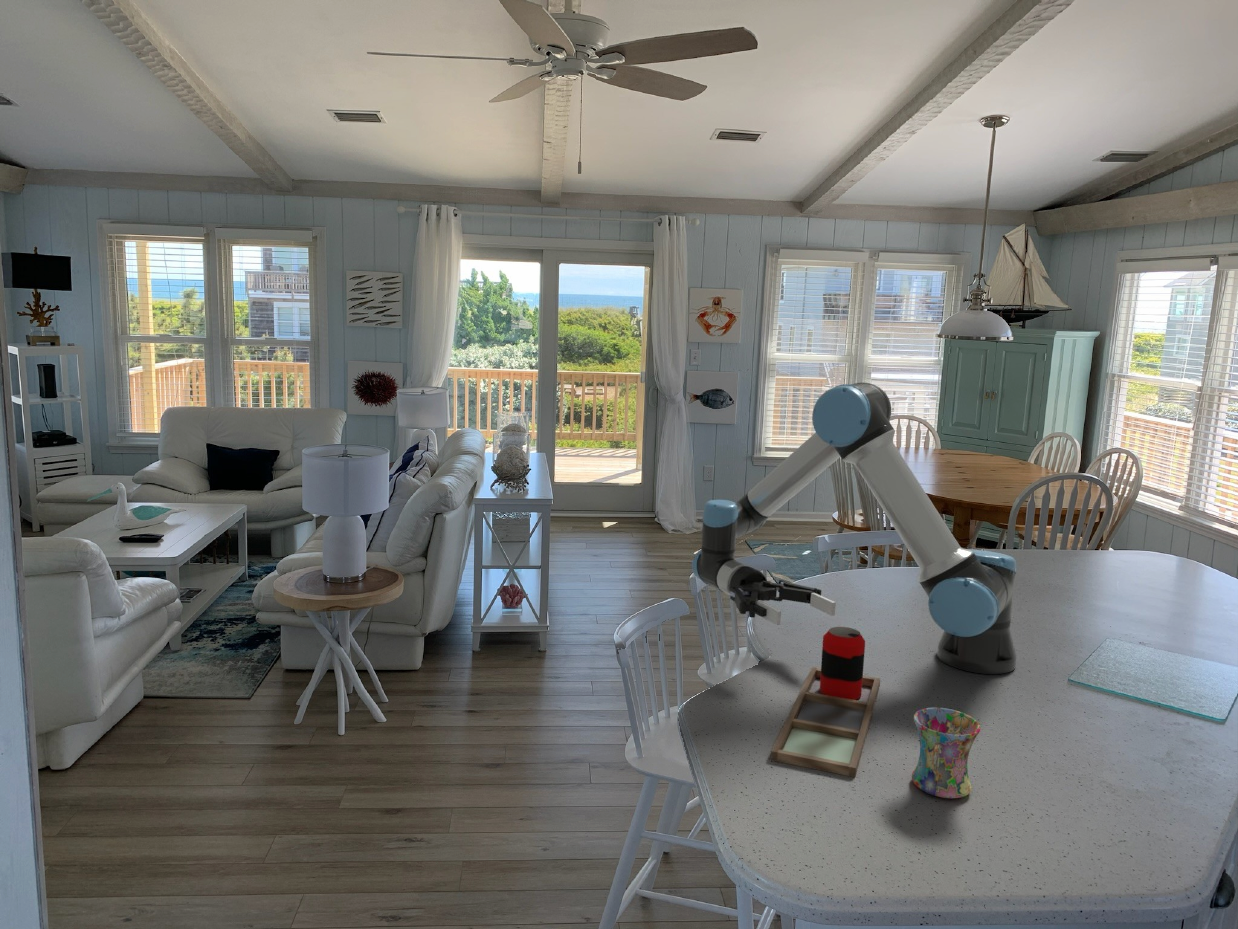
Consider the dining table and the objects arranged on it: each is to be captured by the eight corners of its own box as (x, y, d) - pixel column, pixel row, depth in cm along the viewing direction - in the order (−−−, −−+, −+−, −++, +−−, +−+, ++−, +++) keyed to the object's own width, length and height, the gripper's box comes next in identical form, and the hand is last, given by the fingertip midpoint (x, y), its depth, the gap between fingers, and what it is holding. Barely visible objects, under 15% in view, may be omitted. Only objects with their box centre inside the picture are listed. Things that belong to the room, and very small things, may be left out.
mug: (916, 765, 138) (921, 702, 136) (979, 782, 133) (985, 717, 131) (897, 800, 128) (902, 732, 126) (964, 820, 123) (971, 749, 121)
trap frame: (879, 686, 168) (880, 678, 168) (855, 777, 134) (855, 768, 134) (811, 674, 173) (811, 667, 172) (770, 759, 139) (771, 751, 138)
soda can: (845, 705, 159) (850, 642, 157) (811, 691, 165) (815, 630, 163) (869, 694, 164) (873, 633, 162) (835, 681, 170) (839, 622, 168)
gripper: (787, 592, 196) (853, 623, 178) (692, 606, 184) (753, 641, 166) (789, 559, 195) (856, 587, 176) (694, 571, 183) (756, 603, 165)
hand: (807, 613), depth 171 cm, fingers open, 13 cm apart
